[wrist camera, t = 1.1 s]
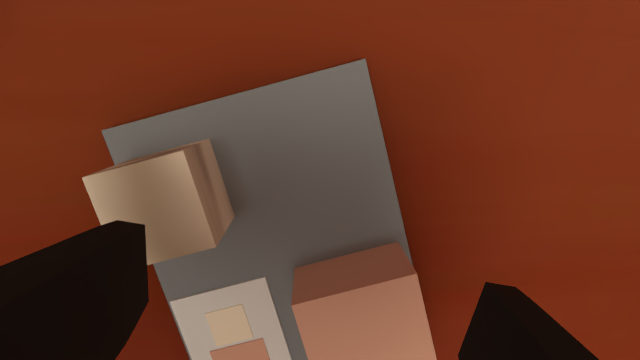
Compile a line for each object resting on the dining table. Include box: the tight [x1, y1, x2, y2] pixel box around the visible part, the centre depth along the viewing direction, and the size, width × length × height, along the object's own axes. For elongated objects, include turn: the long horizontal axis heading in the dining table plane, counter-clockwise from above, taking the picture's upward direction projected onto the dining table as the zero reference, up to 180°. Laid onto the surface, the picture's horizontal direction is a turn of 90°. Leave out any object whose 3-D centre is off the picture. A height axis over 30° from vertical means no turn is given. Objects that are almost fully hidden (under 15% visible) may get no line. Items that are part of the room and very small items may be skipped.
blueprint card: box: [170, 276, 292, 360], centre depth 23 cm, size 6×7×1 cm
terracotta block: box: [291, 242, 437, 360], centre depth 21 cm, size 6×6×4 cm
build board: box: [102, 59, 413, 360], centre depth 23 cm, size 14×18×1 cm
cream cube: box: [82, 138, 235, 265], centre depth 19 cm, size 4×4×4 cm
